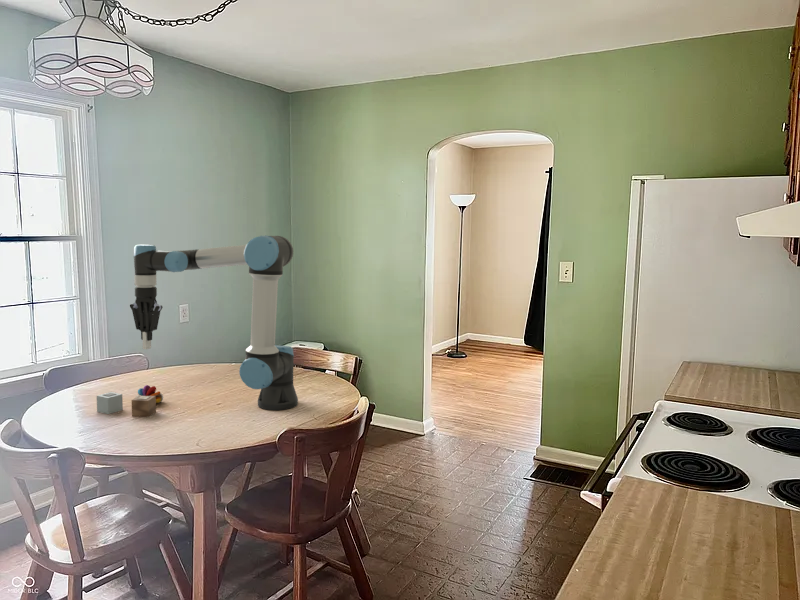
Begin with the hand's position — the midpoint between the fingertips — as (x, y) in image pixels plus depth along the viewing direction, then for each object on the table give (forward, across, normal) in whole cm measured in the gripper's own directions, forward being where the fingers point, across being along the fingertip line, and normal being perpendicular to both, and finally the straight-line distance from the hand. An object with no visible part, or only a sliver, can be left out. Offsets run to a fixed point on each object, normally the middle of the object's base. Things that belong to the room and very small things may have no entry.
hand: (146, 348), depth 223 cm
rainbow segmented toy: (+22, 0, 0) cm, 22 cm away
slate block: (+22, +7, +12) cm, 26 cm away
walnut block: (+21, -7, +11) cm, 25 cm away
